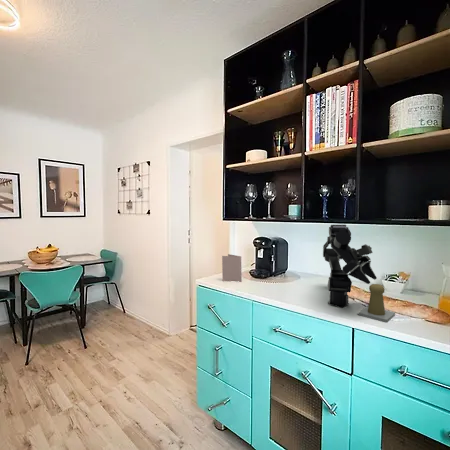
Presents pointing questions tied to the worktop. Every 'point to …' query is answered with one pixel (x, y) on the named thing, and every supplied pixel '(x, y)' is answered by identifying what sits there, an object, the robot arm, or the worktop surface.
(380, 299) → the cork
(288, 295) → the worktop surface
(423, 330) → the worktop surface
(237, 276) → the greeting card
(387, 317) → the plate
